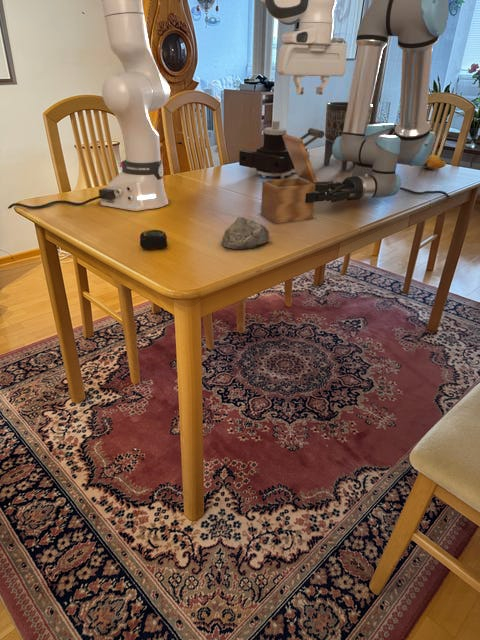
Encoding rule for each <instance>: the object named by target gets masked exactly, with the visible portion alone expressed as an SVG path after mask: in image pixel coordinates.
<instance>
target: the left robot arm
mask: <svg viewBox="0 0 480 640" xmlns="http://www.w3.org/2000/svg"><path fill="white" fill-rule="evenodd" d="M259 1H260V2H261V3H263V4H264V5H265V7H266V9H267V11H268V13H269V14H270V15H271V16H272V17H273V18H274V19H275V20H277V21H279V23H281V24H283V25H286V26H293V25H296V24H298V23H299V27H298V28H296V29H294V30H290V31H287V32H285V33H283V34H282V35H281V43H282V45H281V46H280V48H279V50H278V54H277V55H278V57H277V63H276V72H277V73H278V75H279V76H292V77H293V80H292V81H293V83H294V86H295V88H296V89H295V94H296V95H299V96H300V95H301V96H302V95H304V91H305V87H302V84H301V81H302V79H303V77H320V79H319V80H320V81H321V82H320V84H319V86H316V88H315V94H316V95H320V96H321V95H324V92H325V87H326V86H327V84H328V82H329V81H330V77H344V75H345V74H346V71H347V70H346V69H347V52H348V51H347V49H348V43H347V41H346V40H345V39H344V38H342V37H333V31H334V24H335V23H334V22H335V21H334V10H335V7H336V4H337V0H259ZM101 2H102V10H103V15H104V21H105V27H106V31H107V37H108V43H109V47H110V49H111V51H112V53H113V54H114V55H115V56H116V57H117V59H118V60H119V61H120V63H121V65H122V68H123V69H124V72H118V73H115V74H113V75H111V76H109V77H108V78H106V79H105V80H104V82H103V83H102V88H101V93H102V94H101V95H102V99H103V102H104V105H105V106H106V107H107V108H108V109H109V110H110V111H111V112H112V113H113V114H114V116H115V119H116V120H117V122H118V125H119V128H120V130H121V135H122V138H123V146H124V153H125V159H124V160H122V161H121V162H119V163H118V165H119V166H118V167H119V168H121V172H120V173H119V174H117V175H116V176H115V177H114V178H113V179H112V180H111V181H109V182H108V184H107V185H106V188H105V187H103V188H100V189H98V196H94V197H92V198H89V199H87V200H85V201H82V202H73V201H70V200H64V199H63V200H61V199H59V200H53V201H49V202H47V203H44V204H40V205H28V204H23V203H19V202H14V203H11V204H9V205H8V207H7V209H8V210H10V209H12V208H13V207H17V206H18V207H22V208H25V209H30V210H36V209H43V208H46V207H49V206H52V205H55V204H69V205H72V206H83V205H87V204H88V203H91V202H94V201H96V200H100V206H104V207H111V208H117V209H121V210H129V211H134V212H139V211H143V210H151V209H159V208H163V207H165V206H167V205H169V200H168V196H167V193H166V190H165V189H166V188H165V185H164V166H163V159H162V158H161V157H162V156H161V155H162V154H161V143H160V141H161V140H160V134H159V132H158V131H157V130H156V128H154V126H153V124H152V122H151V119H150V114H149V112H154V111H155V112H156V111H158V110H159V109H162V107H164V106H166V105H167V104H168V102H169V100H170V97H171V88H170V85H169V82H168V81H167V79H166V78H165V77H164V76H163V75H162V73H161V72H160V70H159V67H158V65H157V63H156V61H155V58H154V55H153V52H152V49H151V45H150V40H149V34H148V27H147V22H146V16H145V9H144V5H143V0H102V1H101Z"/></svg>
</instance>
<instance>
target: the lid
mask: <svg viewBox="0 0 480 640" xmlns="http://www.w3.org/2000/svg"><path fill="white" fill-rule="evenodd" d="M309 136H312V137H311V138H310V139H309V140H307V141H305V142H304V140H305V139H306V138H307V137H309ZM282 137H283V140H284V142H285V145H286V147H287V150H288V152H289V155H290V157H291V160H292V162H293V165H294V167H295V170H296V175H297V178H301V179H304V180H306V181H308V182H312V183H315V182H318V179H317V176H316V172H315V170H314V168H313V165H312V162H311V160H310V156H309V157H308V154H307V151H308V150H307V151H306V149H307V148H306V147H307V146H308V145H310V144H311V143H313V142H314V141H316V140H317V139H323V138H324V137H325V131H324V130H321V129H317V128H313V127H309V128H308V130H307V132H306V133H305V134H304V135H302V136H300V137H296V136H294V135H290V134H288V133H287V134H285V135H283V136H282Z"/></svg>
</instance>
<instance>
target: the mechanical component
mask: <svg viewBox="0 0 480 640" xmlns="http://www.w3.org/2000/svg"><path fill="white" fill-rule="evenodd" d="M285 134H287V135H288V129H287V128H286V127H280V121H279V120H272V126H271V127H265V128H264V129H263V145H262V146H258V147H257V148H256V151H250V150H245V149H241V150H239V153H238V154H239V155H238V157H239V159H238V166H240V167H245V168H250V169H255V173H256V174H257V175H261V177H262V178H267V177H279V179H285V176H291V175H292V173H296V170H295V167H294V165H293V162H292V160H291V157H290V155H289V152H288V150H287V147H286V145H285V142H284V140H283V137H282V136H283V135H285ZM305 149H306V151H307V154H308V157H309V158H310V156H311V154H310V152H309V151H308V148H305ZM296 174H297V173H296Z"/></svg>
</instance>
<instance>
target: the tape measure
mask: <svg viewBox="0 0 480 640" xmlns="http://www.w3.org/2000/svg"><path fill="white" fill-rule="evenodd" d="M167 236H168V235H167V234H166V232H165V231H164V230H161V229H147V230H144V231H143V232H141V233H140V235H139V240H140V241H139V245H140V246H139V247H141V248H142V249H146V250H157V249H167V248H168V240H167V239H168V237H167Z"/></svg>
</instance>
